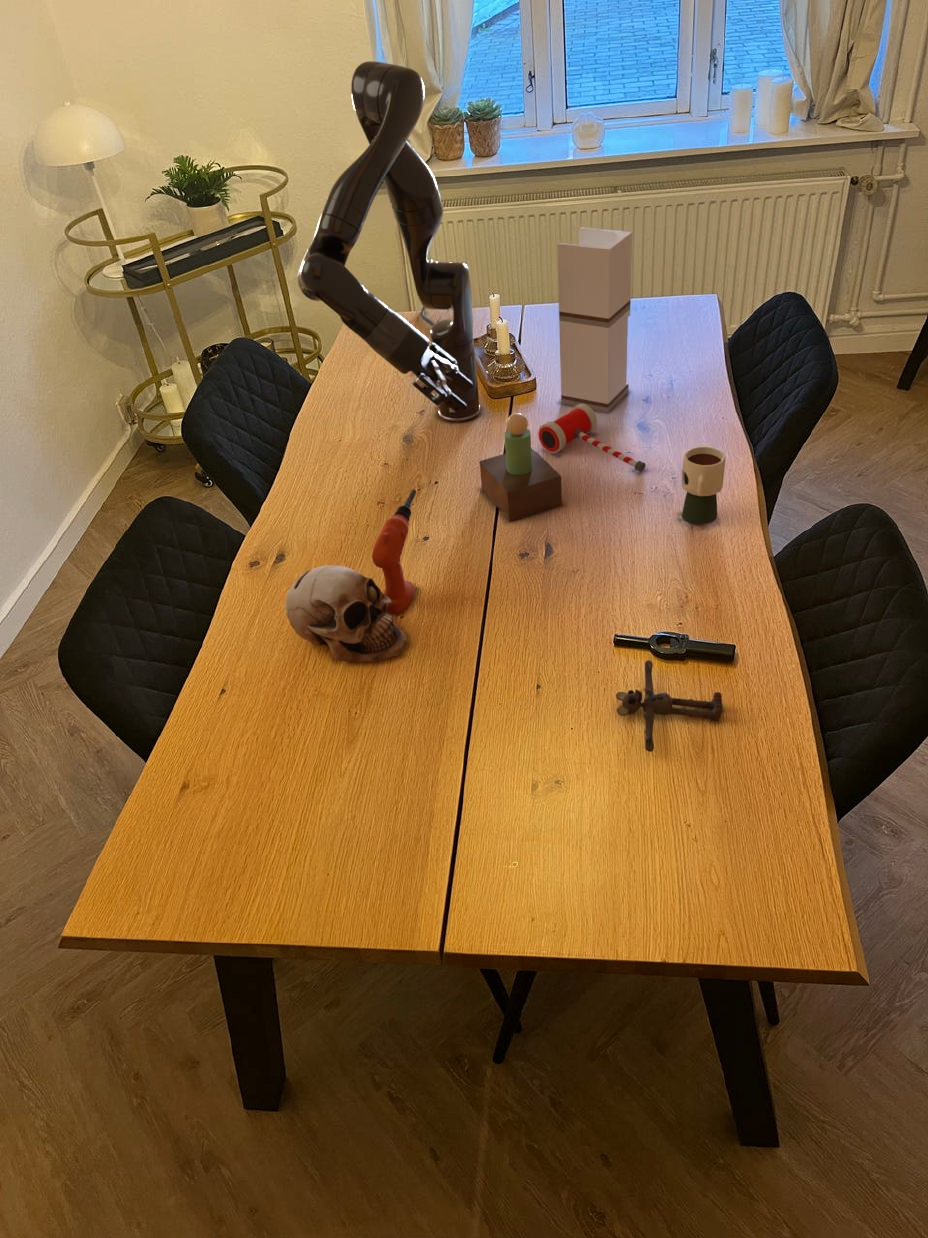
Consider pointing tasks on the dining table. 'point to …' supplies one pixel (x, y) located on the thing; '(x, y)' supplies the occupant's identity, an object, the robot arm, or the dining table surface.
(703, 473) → the character mug
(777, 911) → the dining table surface
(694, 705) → the bear figurine
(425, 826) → the dining table surface
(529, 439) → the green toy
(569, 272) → the beige tall block
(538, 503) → the walnut block
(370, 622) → the coin bank
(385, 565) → the toy drill
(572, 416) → the toy hammer
